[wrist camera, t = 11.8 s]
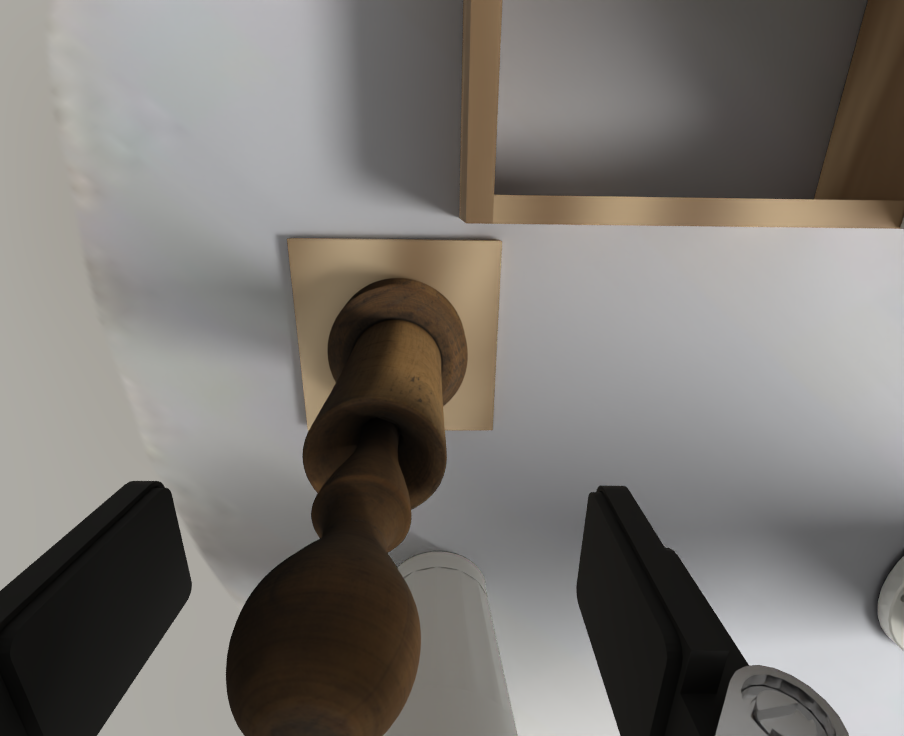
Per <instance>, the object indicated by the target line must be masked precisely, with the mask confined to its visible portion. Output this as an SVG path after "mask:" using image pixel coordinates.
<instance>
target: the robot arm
mask: <svg viewBox="0 0 904 736" xmlns="http://www.w3.org/2000/svg"><path fill="white" fill-rule="evenodd" d="M191 587H192V582H191V577H190V573H189V569H188V564H187V560H186V555H185V551H184V546H183V543H182V538H181V533H180V529H179V525H178V520H177V516H176V511H175V507H174V502H173V498H172V494H171V491H170V490H169V489H168V488H165V487H164V485H163V484H162V483H161V482H159V481H131V482H129V483H127V484H125V485H124V486H123V487H122V488H121V489H119V490H118V491H117V492H116V493H115V494H114V495H112V496H111V497H110V498H109V499H108V500H106V501H105V502H104V503H103V504H102V505H101V506H99V507H98V508H97V509H96V510H95V511H93V512H92V513H91V514H90V515H89V516H88V517H86V518H85V519H84V520H83V521H82V522H81V523H79V524H78V525H77V526H76V527H75V528H74V529H72V530H71V531H70V532H69V533H68V534H66V535H65V536H64V537H63V538H62V539H61V540H59V541H58V542H57V543H56V544H55V545H54V546H52V547H51V548H50V549H49V550H48V551H47V552H46V553H44V554H43V555H42V556H41V557H40V558H38V559H37V560H36V561H35V562H34V563H33V564H31V565H30V566H29V567H28V568H27V569H25V570H24V571H23V572H22V573H21V574H20V575H18V576H17V577H16V578H15V579H14V580H13V581H11V582H10V583H9V584H8V585H7V586H5V587H4V588H3V589H2V590H1V591H0V736H97V735H98V733H99V732H100V730H101V729H102V727H103V726H104V724H105V723H106V721H107V720H108V718H109V717H110V715H111V714H112V712H113V711H114V709H115V708H116V706H117V705H118V703H119V702H120V700H121V699H122V697H123V696H124V694H125V693H126V691H127V690H128V688H129V687H130V685H131V684H132V682H133V681H134V679H135V678H136V676H137V675H138V673H139V672H140V670H141V669H142V667H143V666H144V664H145V663H146V661H147V660H148V658H149V657H150V655H151V654H152V653H153V651H154V649H155V648H156V647H157V645H158V644H159V642H160V640H161V639H162V638H163V636H164V634H165V633H166V632H167V630H168V628H169V627H170V626H171V624H172V622H173V621H174V620H175V618H176V617H177V615H178V614H179V612H180V611H181V609H182V608H183V606H184V605H185V603H186V602H187V600H188V598H189V596H190V593H191ZM576 589H577V600H578V604H579V607H580V610H581V614H582V617H583V620H584V623H585V626H586V629H587V632H588V635H589V639H590V642H591V645H592V648H593V651H594V654H595V657H596V660H597V664H598V667H599V670H600V673H601V676H602V679H603V682H604V685H605V689H606V692H607V695H608V698H609V701H610V704H611V707H612V710H613V714H614V717H615V720H616V723H617V726H618V729H619V732H620V736H849V735H848V732H847V730H846V728H845V726H844V724H843V723H842V721H841V719H840V717H839V716H838V714H837V713H836V712H835V711H834V710H833V709H832V707H831V706H830V705H829V704H828V703H827V701H826V700H825V699H823V698H822V697H821V696H820V695H819V694H818V693H816V692H815V691H814V690H813V689H812V688H811V687H810V686H808V685H806V684H805V683H803V682H802V681H800V680H798V679H797V678H795V677H794V676H792V675H790V674H787V673H785V672H782V671H780V670H778V669H775V668H771V667H766V666H761V665H752V666H749V665H748V663H747V662H746V660H745V658H744V657H743V655H742V654H741V652H740V651H739V649H738V648H737V646H736V645H735V643H734V642H733V640H732V638H731V637H730V635H729V634H728V632H727V631H726V629H725V628H724V626H723V625H722V623H721V621H720V620H719V618H718V617H717V615H716V614H715V612H714V611H713V609H712V608H711V606H710V605H709V603H708V601H707V600H706V598H705V597H704V595H703V594H702V592H701V591H700V589H699V588H698V586H697V584H696V583H695V581H694V580H693V578H692V577H691V575H690V574H689V572H688V571H687V569H686V568H685V566H684V564H683V563H682V561H681V560H680V558H679V557H678V555H677V554H676V553H675V552H674V551H673V550H671V549H670V548H665V547H664V546H663V544H662V542H661V541H660V539H659V538H658V536H657V534H656V533H655V531H654V530H653V528H652V526H651V525H650V523H649V522H648V520H647V518H646V517H645V515H644V514H643V512H642V510H641V509H640V507H639V506H638V504H637V502H636V501H635V499H634V498H633V496H632V494H631V493H630V491H629V490H628V488H627V487H625V486H599V487H598V489H597V492H591V493H590V494H589V497H588V504H587V511H586V519H585V526H584V534H583V541H582V549H581V556H580V564H579V571H578V579H577V588H576ZM878 618H879V622H880V625H881V627H882V629H883V630H884V632H885V633H886V635H887V636H888V637H889V638H890V639H891V640H892V641H893V642H894V643H896V644H897V645H898V646H899V647H900V648H901V649H902V650H903V651H904V556H903V557H902V558H901V559H900V560H899V561H898V562H897V564H896V565H895V566H894V568H893V569H892V571H891V572H890V573H889V575H888V576H887V578H886V580H885V582H884V584H883V586H882V588H881V592H880V596H879V599H878Z"/></svg>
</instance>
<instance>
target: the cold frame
mask: <svg viewBox="0 0 904 736" xmlns="http://www.w3.org/2000/svg"><path fill="white" fill-rule="evenodd" d="M501 19H502V0H463V42H462V98H461V153H460V209H459V218H460V219H461V220H463V221H464V222H465V223H484V224H566V225H648V226H730V227H812V228H894V229H904V0H868V2H867V6H866V9H865V13H864V17H863V20H862V24H861V28H860V31H859V35H858V39H857V42H856V46H855V50H854V53H853V57H852V61H851V64H850V68H849V72H848V75H847V79H846V83H845V87H844V90H843V94H842V98H841V101H840V105H839V109H838V112H837V116H836V120H835V123H834V127H833V131H832V134H831V138H830V142H829V145H828V149H827V153H826V156H825V160H824V164H823V167H822V171H821V175H820V178H819V182H818V186H817V189H816V193H815V197H814V199H747V198H678V197H609V196H540V195H494V184H495V161H496V137H497V114H498V90H499V67H500V43H501Z"/></svg>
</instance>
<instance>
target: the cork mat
mask: <svg viewBox="0 0 904 736" xmlns="http://www.w3.org/2000/svg"><path fill="white" fill-rule="evenodd" d="M287 244H288V253H289V262H290V272H291V281H292V290H293V299H294V308H295V317H296V327H297V336H298V345H299V354H300V363H301V372H302V381H303V391H304V400H305V409H306V418H307V427H308V431H309V430H310V428H311V426H312V424H313V422H314V420H315V419H316V417H317V415H318V414H319V412H320V410H321V408H322V407H323V405H324V403H325V401H326V400H327V398H328V396H329V394H330V393H331V391H332V389H333V387H334V385H335V383H336V382H335V380H334V378H333V376H332V373H331V370H330V367H329V362H328V353H327V348H328V339H329V334H330V331H331V328H332V326H333V323H334V321H335V319H336V317H337V316H338V314H339V313H340V311H341V310H342V309H343V307H344V306H345V305H346V303H347V302H348V301H349V300H350V299H351V297H352V296H353V295H355V294H356V293H357V292H358V291H359V290H361V289H362V288H364V287H365V286H367V285H369V284H371V283H374V282H376V281H380V280H384V279H390V278H406V279H412V280H416V281H419V282H422V283H425V284H427V285H429V286H431V287H433V288H434V289H436V290H437V291H439V292H440V293H441V294H442V295H444V296H445V297H446V298H447V299H448V300H449V302H450V303H451V304H452V305H453V307H454V308H455V310H456V311H457V313H458V315H459V317H460V319H461V322H462V325H463V328H464V332H465V337H466V342H467V350H468V361H467V368H466V373H465V376H464V379H463V382H462V384H461V386H460V388H459V389H458V391H457V392H456V394H455V395H454V396H453V398H452V399H451V400H450V401H449V402H448V403H447V404H446V405H445V406H443V412H444V426H445V430H493V412H494V392H495V371H496V351H497V331H498V311H499V291H500V271H501V251H502V241H501V240H432V239H340V238H289V239H287Z"/></svg>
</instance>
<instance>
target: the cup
mask: <svg viewBox="0 0 904 736" xmlns="http://www.w3.org/2000/svg"><path fill="white" fill-rule="evenodd" d="M398 570H399V572H400V573H401V575H402V576H403V578H404V580H405V581H406V583H407V585H408V587H409V589H410V591H411V593H412V596H413V598H414V601H415V603H416V606H417V610H418V615H419V620H420V628H421V651H420V659H419V665H418V670H417V674H416V678H415V681H414V684H413V687H412V690H411V693H410V695H409V697H408V700H407V702H406V704H405V706H404V707H403V709H402V711H401V713H400V714H399V716H398V717H397V719H396V720H395V722H394V723H393V724H392V726H391V727H390V728H389V730H388V731H387V732H386V733H385V734H384V735H383V736H518V735H517V730H516V726H515V721H514V717H513V712H512V708H511V703H510V699H509V694H508V690H507V685H506V681H505V676H504V672H503V667H502V663H501V658H500V654H499V649H498V645H497V640H496V636H495V631H494V626H493V622H492V617H491V613H490V608H489V604H488V599H487V592H486V584H485V580H484V577H483V575H482V573H481V571H480V570H479V568H478V567H477V566H476V565H475V564H474V563H472V562H471V561H470V560H468V559H466V558H465V557H463V556H460V555H457V554H454V553H450V552H440V551H437V552H427V553H422V554H419V555H416V556H414V557H412V558H410V559H408V560H406V561H405V562H403V563H402V564H401V565H400V566H399V567H398Z"/></svg>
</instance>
